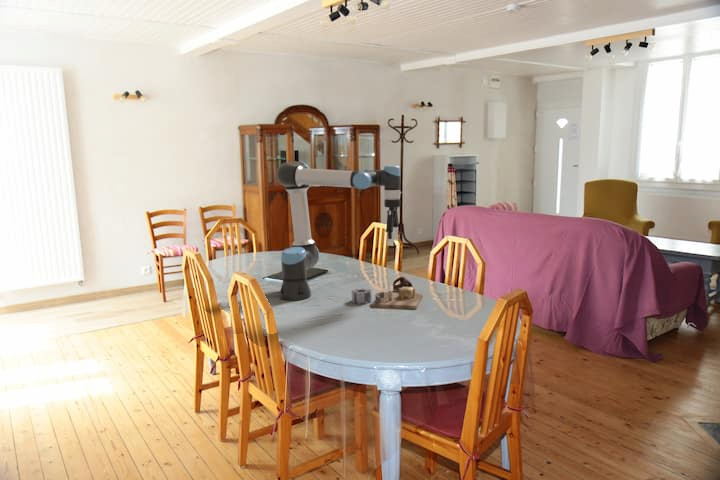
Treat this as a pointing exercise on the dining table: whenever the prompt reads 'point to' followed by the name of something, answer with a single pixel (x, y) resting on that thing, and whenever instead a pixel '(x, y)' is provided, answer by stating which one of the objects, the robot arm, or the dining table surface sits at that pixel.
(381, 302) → the carrier plate
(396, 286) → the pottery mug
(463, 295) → the dining table surface
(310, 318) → the dining table surface
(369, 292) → the planet gear
